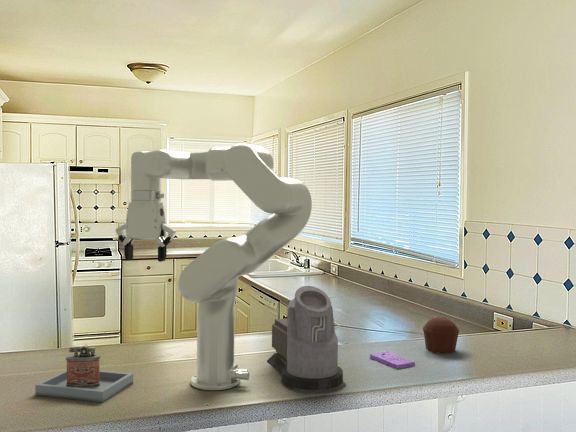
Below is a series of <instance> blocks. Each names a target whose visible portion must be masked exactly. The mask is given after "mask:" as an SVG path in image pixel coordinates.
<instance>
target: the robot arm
mask: <svg viewBox="0 0 576 432" xmlns="http://www.w3.org/2000/svg"><path fill="white" fill-rule="evenodd" d="M130 157H131V158H130V166H131V167H130V190H131V191H130V201H129V202H128V205H127V211H126V219H125V223H124V224H123V225H121V226H119V227H117V228H116V229H115V232H116V233H115V234H116V235H117V236H118V240H119V241H120V242H121V243H122V245H123V246H124V248H123V251H124V253H123V254H124V260H125V261H130V260H133V259H134V245H133V244H132V243H133V242H134V241H135V240H155V241H156V242H157V243H158V245H159V246H158V247H157V261H158V262H161V263H162V262H165V261H166V258H167V252H168V251H167V247H168V246H169V244H170V243H171V242H172V241H173V239H174V237H175V235H176V233H177V232H176V229H174V228H172V227H170V226H169V225H167V222H166V213H165V207H164V203H163V202H161V199H164V198H165V194H164V193H162V192H161V190H160V189H161V187H160V185H161V184H160V183H161V181H160V180H161V179H165V180H166V179H172V180H173V179H174V180H211V181H213V182H214V181H222V182H223V181H233V183H234V184H235V185H236V187H238V188H239V189H240V191H241V192H242V193H244V194H245V196H247V198H249V200H250V201H251V202H252V203H253V204H254V205H255V206H256V207H258V208H259V210H261V211H263V212H264V213H267V214H269V215H267V216H266V217H265V218H263V219H262V220H260V221H259V222H258V223H256V225H254V226H253V227H252V228H251V229H249V230H248V231H246V232H245V233H244V234H242V235H239V236H231V237H226V238H223V239H220V240H219V241H217V242H215V243H213V244H212V245H211V246H209V247H208V248H207V249H206V250H205V251H203V252H202V253H201V254H199V256H197V257H196V258H195V259H194V260H192V261H191V262H190V263H189V264H188V265H187V266H185V268H184V269H183V270H182V271H181V273H180V275H179V278H178V282H177V284H178V285H177V287H178V290H179V293H180V295H181V296H182V297H183V298H184V299H185V300H186V301H188V302H189V303H193V304H195V303H196V304H198V307H197V317H196V320H197V321H196V323H197V324H196V374H194V375H193V376H191V378H190V385H192V387H193V388H195V389H199V390H204V391H223V390H228V389H232V388H235V387H237V386H238V385H239V384H240V383H241V380H243V381H249V379H250V372H249V370H247V369H240V368H239V367H238V366H239V365H238V363H237V362H235V319H236V318H235V317H236V316H235V315H236V299H237V294H238V288H239V277H242V276H246V275H247V276H248V275H249V274H252V273H254V272H255V271H257V270H258V269H259V268H260V267H261V266H262V265H264V264H265V263H266V262H268V260H270V259H271V258H273V257H274V256H275V255H276V254H278V253H279V251H281V250H282V249H283V248H285V247H286V246H287V245H288V244H289V243H291V242H292V241H293V240H294V239H295V238H297V236H299V235H300V234H301V232H302V231H303V230H304V228H305V227H306V225H307V224H308V222H309V220H310V217H311V213H312V208H313V207H312V206H313V201H312V196H311V193H310V190H309V188H308V187H307V185H305V184H304V182H302V181H300V180H298V179H296V178H291V177H282V176H281V177H280V176H277V175H276V173H275V172H274V171H273V168H274V157H273V155H272V154H271V153H270V151H269V150H267V149H266V148H265V147H262V146H259V145H253V144H248V143H237V144H234V145H232V146H214V147H210V149H208V151H200V152H199V151H195V152H189V151H188V152H186V151H179V150H172V149H171V150H170V149H156V150H152V151H150V150H149V151H148V150H145V151H143V150H140V151H139V150H138V151H134V152H132V153H131V156H130ZM124 231H125V234H124ZM165 237H166V238H165Z"/></svg>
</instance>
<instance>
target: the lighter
mask: <svg viewBox="0 0 576 432" xmlns="http://www.w3.org/2000/svg"><path fill="white" fill-rule="evenodd" d="M68 353H74V354H70V355H66V357H65V360H66V370H67V383H66V386H67V387H77V388H92V387H98V386H100V381H99V370H100V359H101V355H100V354H98V353H97V354H96V347H95V346H89V345H87V344H84V345H83V346H79V345H77V346H74V345H73V346H69V348H68Z"/></svg>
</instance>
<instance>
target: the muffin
mask: <svg viewBox="0 0 576 432" xmlns="http://www.w3.org/2000/svg"><path fill="white" fill-rule="evenodd" d="M422 331H423V337H424V344H425V349H426V350H427V352H430V353H433V354H434V353H435V354H443V355H445V354H453V353H455V352H456V349H457V343H458V338H459V337H458V336H459V333H460V329H459V328H458V326H457V325H456V323H454V321H452V320H450V319H449V318H447V317H440V316H439V317H434V318H430V319H429V320H428V321H427V322H426V323H425V324H424V325H423V327H422Z"/></svg>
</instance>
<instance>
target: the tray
mask: <svg viewBox="0 0 576 432" xmlns="http://www.w3.org/2000/svg"><path fill="white" fill-rule="evenodd" d="M99 381H100V386H98V387H92V388H77V387H67V386H66V383H67V369H66V370H63V371H61V372H59V373H57V374H55V375H53V376H51V377H49V378H47V379H45V380H42V381H40V382H38V383H37V384H35V386H34V388H35V396H38V397H40V396H41V397H49V398H57V399H67V400H76V401H85V402H95V403H103V404H104V402H106V401H107V400H110V398H112V397H114V396H115V395H117V394H119V393H120V392H122V391H123V390H125V389H127V388H128V387H130V386H131V385H133V384H134V373H131V372H121V371H111V370H100V369H99Z"/></svg>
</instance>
